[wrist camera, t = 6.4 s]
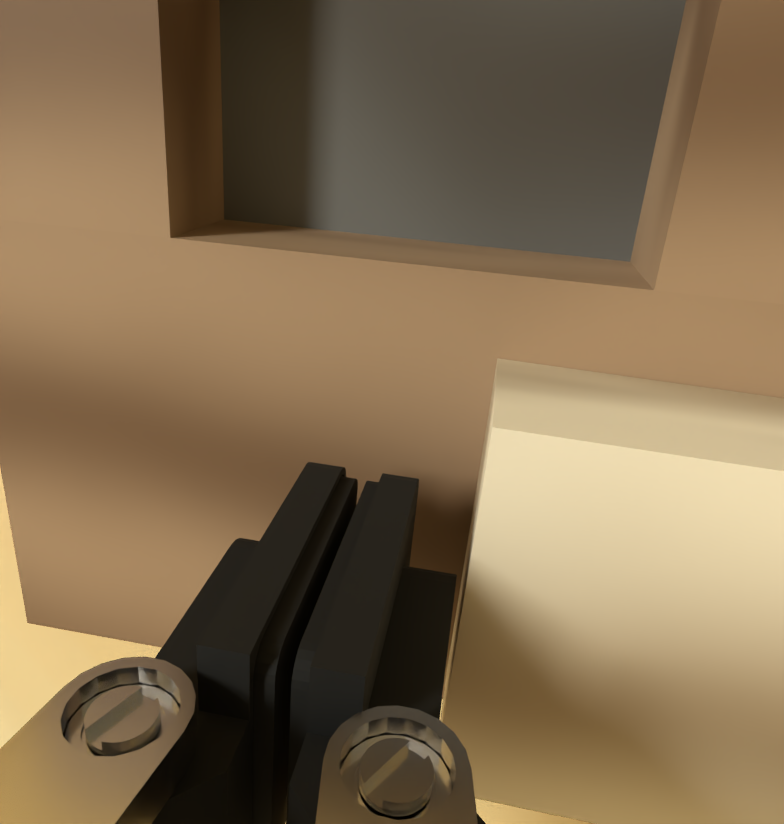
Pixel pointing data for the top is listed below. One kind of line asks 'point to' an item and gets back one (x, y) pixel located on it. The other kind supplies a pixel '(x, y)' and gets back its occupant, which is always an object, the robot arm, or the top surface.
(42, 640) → the top surface
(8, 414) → the box
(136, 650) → the top surface
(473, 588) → the birch block
